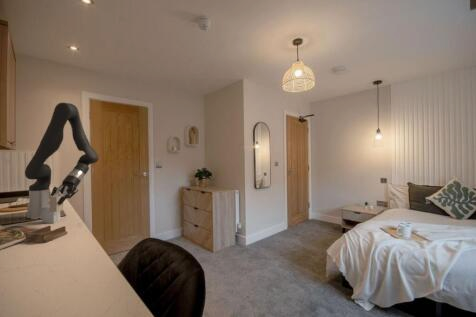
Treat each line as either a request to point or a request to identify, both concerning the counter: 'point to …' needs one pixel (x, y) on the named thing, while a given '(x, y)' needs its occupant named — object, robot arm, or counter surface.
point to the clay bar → (55, 203)
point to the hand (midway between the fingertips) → (54, 203)
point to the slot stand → (45, 234)
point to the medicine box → (50, 215)
